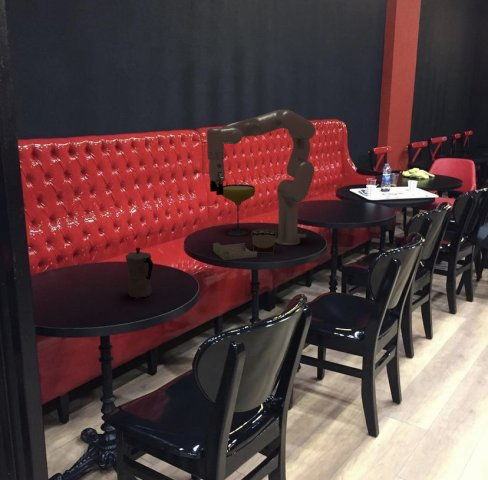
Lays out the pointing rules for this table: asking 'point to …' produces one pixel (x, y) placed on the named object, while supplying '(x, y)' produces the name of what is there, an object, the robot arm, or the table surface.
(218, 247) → the chute mount
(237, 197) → the cocktail glass
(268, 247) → the food container
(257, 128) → the robot arm
